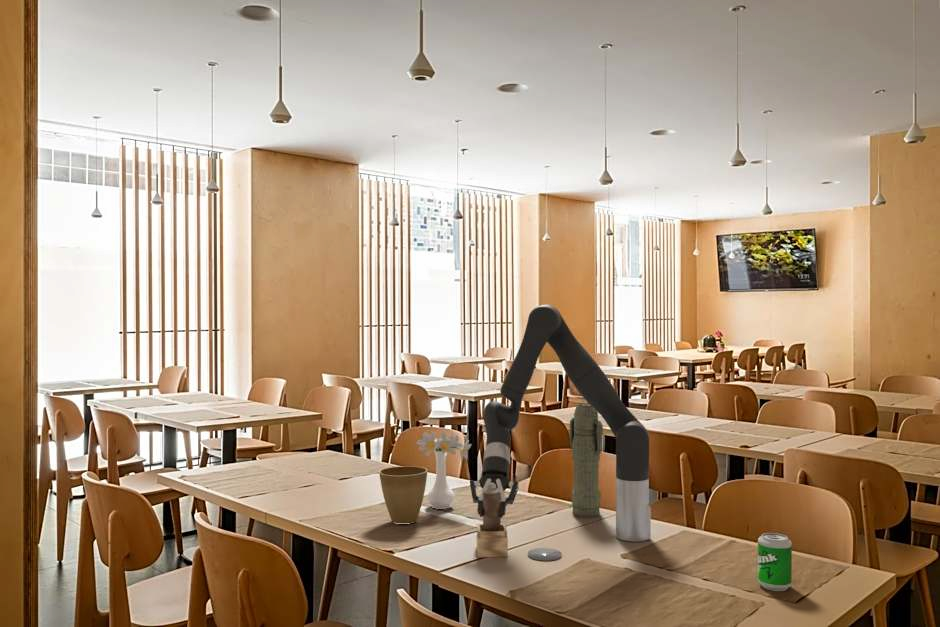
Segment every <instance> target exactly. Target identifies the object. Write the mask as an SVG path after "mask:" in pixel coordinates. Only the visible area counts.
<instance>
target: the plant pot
mask: <svg viewBox="0 0 940 627" xmlns="http://www.w3.org/2000/svg"><path fill="white" fill-rule="evenodd" d="M378 473H379V479H380V486H381V490H382V495H383V498H384V502H385V505H386V509H387V512H388V514H389V517H390V519H391V520H390V521H391V522H392V521H393V522H395V523H412V522H415V521H416V522H417V521H418V518H419V515H420V512H421V507H422V504H423V502H424V496H425V491H426V486H427V478H428V469H427V468H426V467H421V466H414V465H409V466H408V465H403V466H398V465H397V466H391V467H386V468H382V469H380V470H379V471H378ZM393 522H392V523H393ZM416 522H415V523H416Z"/></svg>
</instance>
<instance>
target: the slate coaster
mask: <svg viewBox="0 0 940 627" xmlns="http://www.w3.org/2000/svg"><path fill="white" fill-rule="evenodd" d="M562 555H563V554H562V552H561V551H560V550H558V549H555V548H550V547H549V548H548V547H537V548H533V549H529V550H528V552H527V556H528V558H530V559H531V560H535V561H540V560H542V562H550V561H551V562H552V560H553V561H557V560H559V559H561V558H562V557H563V556H562Z"/></svg>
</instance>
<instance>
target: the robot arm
mask: <svg viewBox="0 0 940 627" xmlns="http://www.w3.org/2000/svg"><path fill="white" fill-rule="evenodd" d="M547 343H548V345H549V346H550V347H551V348H552V349H553V351H554V352H555V353H556V356H557V357H558V359H559V362H560V364H561V366H562V368H563V371H564V372H565V374H566V376H567V377H568V379H569V381H570V382H571V383H572V385H573V387H574V389H576V390H577V392H578V393H579V394H580V395H581V396H582V398H583V399H584V400H585V402H587V404H590V405H591V406H592V407H593V408H594V409H595V410H596V411H597V413H598V415H600V416H601V418H603V420H604V421H605V423H606V424H607V426H608V427H609V429H610V430H611V432H612V434H613V437H615V487H616V488H615V537H616V538H617V539H619V540H622V541H625V542H633V543H634V542H635V543H636V542H637V543H639V542H644V541H649V540H650V541H651V539H652V538H651V537H652V536H651V534H652V532H651V531H652V530H651V529H652V528H651V527H652V526H651V525H652V524H651V522H652V521H651V520H652V518H651V517H652V516H651V514H652V513H651V512H652V511H651V510H652V508H651V506H650V503H649V501H650V500H649V495H650V494H649V490H650V488H649V478H650V477H649V476H650V474H649V473H650V437H649V433H648V430H647V428H646V427H645V426H644V425H643V424H642V423H641V422H640V421H639V420H638V418H637V417H636V416H635V415H634V414H633V413H632V412H631V411H630V410H629V409H628V407H627V406H626V405H625V404H624V403H623V401H622V400H621V398H620V396H619V395H618V393H617V391H616V390H615V387H614V386H613V385H612V383H611V381H610V380H609V378H608V376H607V375H606V373H605V372H604V371H603V369H602V368H601V367H600V366H599V365H598V363H597V361H596V360H595V359H594V358H593V357H592V355H591V354H590V353H589V352H588V351H587V350H586V348H585V347H583V345H582V344H581V343H580V342H579V341H578V340H577V338H576V337H575V335H574V334H573V333H572V331H571V329H570V328H569V326H568V325H567V322H566V321H565V319H564V318H563V316H562V314H561V312H560V310H558V309H557V308H556V307H555V306H553V305H550V304H541V305H538V306H537V307H534V308H533V309H532V310H531V311H530V312H529V315H528V317H527V322H526V327H525V330H524V334H523V336H522V340H521V343H520V346H519V348H518V351H517V353H516V356H515V358H514V360H513V362H512V364H511V365H510V367H509V369H508V372H507V374H506V376H505V379H504V380H503V383H502V385H501V386H500V391H499V392H500V394H501V395H502V396H503V397H504V398H506V399H508V400H509V401H510V405H507V404H504V403H501V402H499V401H496V400H493V401H489V402H488V403H487V404H486V405H485V407H484V409H483V423H484V428H485V429H484V430H485V434H486V443H485V449H484V454H483V461H482V471H481V476H480V479H479V480H475V481H474V480H473V479H470V481H469V486H470V491H471V497H472V502H473V503H474V504H477V509H476V511H477V514H478V515H479V517H480V518H483V492H485V489H486V488H487V486H488V484H489V483H494V484H495V485H496V488H498V489H499V492H500V493H501V502H500V511H499V516H500V518H501V519H502V518H504V516H505V515H506V510H507V509H506V508H507V505H513V504H514V502H515V499H516V496H517V493H518V491H519V482H518V481H514V482H512V481H510V479H509V473H510V465H511V440H512V437H511V435H512V434H511V433H510V431H512V430H514V429H515V428H516V427H517V425H518V423H519V419H520V410H521V405H522V402H523V398H524V395H525V393H526V391H527V388H528V387H529V385H530V382H531V380H532V376H533V375H534V372H535V368H536V365H537V362H538V360H539V357H540V355H541V352H542V350H543V349H544V347H545V345H546V344H547ZM479 486H480V487H481V492H480V495H479V496H477V495H478V494H477V489H479ZM508 488H509V490H510V492H509V494H508V497H506V495H505V491H506V490H507V489H508Z"/></svg>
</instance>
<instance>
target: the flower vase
mask: <svg viewBox="0 0 940 627" xmlns="http://www.w3.org/2000/svg"><path fill="white" fill-rule="evenodd" d="M469 442H470V440H469V439H468V440H467V441H466V442H465V443H464V444H462V443H460V442H459V435H458V434H454V432H451V436H448V437H447V434H446V432H445V431H444V430H442V431H441V432H440V438H437V432H436V431H433V432H432V433H431V434H429V432H428V431H424V432H423V433H422V438H421V439H418V440H417V441H416V444H417V445H420V446H419V447H418V450H419V451H425V454H424V455H425V456H426V458H427V457H429V456H430V454H431V452H432V450H433V452H434V455H435V461H436V471H435V472H436V473H435V475H436V476H435V481H434V484H433V487H432V488H431V489H430V490H429V491H428V493H427V495H426V500H427V502H428V503H429V504H430V505H431V508H432V509H433V508H436V509H435V510H437V509H444V510H446V509H445V508H449V507H450V508H451V505H452V504H453V503H454V502H455V499H456V495H455V493H454V490H452V489H451V488H450V486H449V484H448V481H447V472H446V469H447V468H446V462H447V461H446V460H447V455H448V453H450V454H452V455H456V454H457V453H456V450H459V454H460V455H459V456H460V462H461V463H462V462H463V460H464V459H465V460H467V459H468V458H469V457H468V456H469V455H468V452H467V451H468V450H470V449H471V447H472V443H469ZM450 508H449V509H450Z"/></svg>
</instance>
